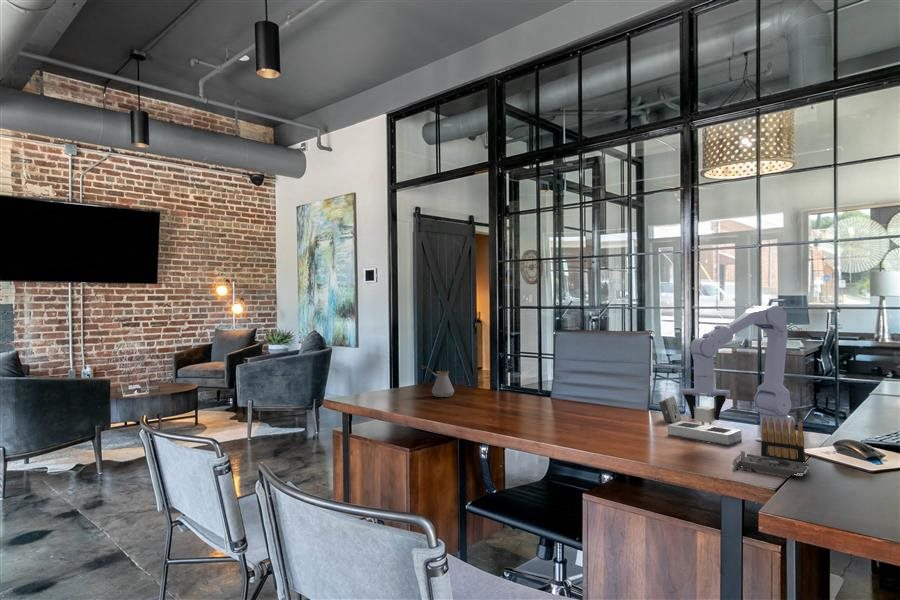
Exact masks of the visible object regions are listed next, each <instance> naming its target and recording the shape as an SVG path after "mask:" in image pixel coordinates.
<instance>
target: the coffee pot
mask: <svg viewBox="0 0 900 600" xmlns="http://www.w3.org/2000/svg"><path fill="white" fill-rule="evenodd" d="M421 369H422V370H427V372H429V373H431V374H433V376H435V377H436V379H435V382H434V385H433V386H432V389H431V394H432V395H433V396H434V397H435V396H436V397H449V396H451V397H452V396H453V395H454V393H455V389H454V387H453V385H452V382H451V380H450V378H449V373H450V371H449V370H438V371H436V373H435V372H434V371H433V370H431V368H428V367H427V366H425V365H422V366H421ZM436 397H435V398H436Z"/></svg>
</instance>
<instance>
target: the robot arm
mask: <svg viewBox="0 0 900 600" xmlns="http://www.w3.org/2000/svg"><path fill="white" fill-rule="evenodd" d="M787 317H788V314H787V312H786V311H785V310H784V309H783V308H782V307H781V306H779V305H753V306H751V307H749V308H746V309H745V311H744V312H743V313H742V314H741V315H740V316H738V317H737V318H735V319H734V320H733V321H731V322H730V323H728V324H727V325H722V324H721V325H715V326H713V328H714V329H712V330H710V331H709V332H708V333H704V334H702V336H701V337H696V338H694V339H693V340H692V341H691V343H690V345H689V346H688V349H689V353H691V355H692V359H693V388H679V389H678V393H679V396H681V397H682V396H683V397H684V399H685V401H686V403H687V406H688V408H689V412H690V418H691V420H694V408H695V406H694V405H695V401H694V399H695V398H694V396H695V397H699V396H700V397H714V404H715V406H714V408H715V421H719V420H720V414H721V411H722V409H723V406H724V404H725V402H726V398H731V391H730V390H729V389H718V388H715V372H714V371H715V368H714V367H715V366H714V363H715V362H714V357H715V356H716V355H717V353H718V350H719V349H720V348H722V347H723V346H726V344H728V343H730V342H731V341H732V340H733V339H734V335H736V334H737V333H739V332H741V331H743V330H745V329H746V328H748V327H750V326H751V325H754V326H755V327H756V328H759V329H760V330H762V331H763V332H764V333H765V334H766V336H767V337H766V338H767V341H766V348H765V349H766V350H765V351H766V352H765V363H764V364H765V365H764V374H763V382H762V383H761V384H760V385H758V386H757V391H756V393H755V395H754V398H753V404H754V406H755V407H756V408H757V409H758V412H759V424H760V425H759V429H760V433H759V434H760V437H756V438H755V441H757V442H762V433H761V432H762V421H763V418H764V417H765V418H766V422H767V431H768V432H769V421H770V418H772V419H773V424H774V432H776V421H777V419H778V418H779V420H780V424H781V433H783V422H784V420H785V419H786V421H787V424H788V433H789V443H790V425H791V421H792V420H793V421H794V423H795V424H796V420H795V417H793V416H792V415H788V413H789V412H790V411H791V409H792V399H791V395H790V394H791V392H790V391H789V389H788V388H787V387H786V386H785V385H784V380H785V379H784V378H785V369H786V368H785V367H786V366H785V365H786V356H787V355H786V354H787V353H786V352H787V343H788V333H789V332H788V326H787Z"/></svg>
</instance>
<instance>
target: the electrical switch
mask: <svg viewBox="0 0 900 600" xmlns="http://www.w3.org/2000/svg"><path fill="white" fill-rule="evenodd" d="M658 404H659V407H660V410H661V414H662V417H663V420H664V423H669V422H670V423H671V424H673V423H677V422H680V420H682V415H681V412H680V410H679V406H678V402H677V400H676V397H675V396H674V395H670V396H669V397H666V398H665V399H663V400H661V401H659V402H658Z"/></svg>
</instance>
